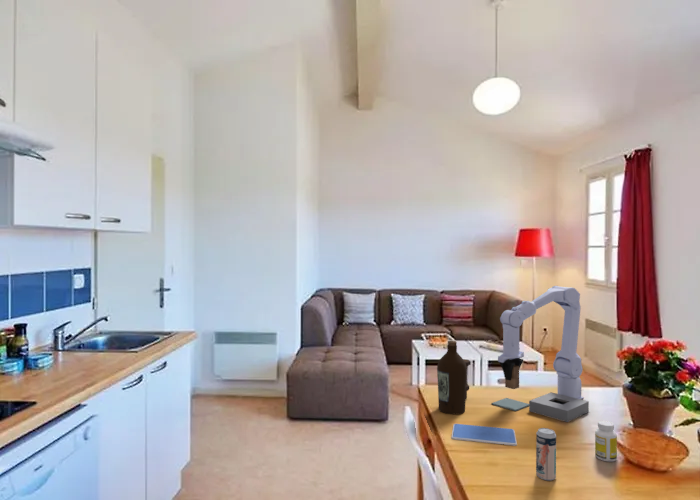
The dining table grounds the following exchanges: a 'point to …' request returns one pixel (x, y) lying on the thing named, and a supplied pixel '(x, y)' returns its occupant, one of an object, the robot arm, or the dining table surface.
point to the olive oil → (452, 381)
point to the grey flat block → (559, 406)
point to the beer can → (546, 454)
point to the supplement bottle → (606, 442)
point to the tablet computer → (484, 434)
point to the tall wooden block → (513, 379)
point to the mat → (510, 404)
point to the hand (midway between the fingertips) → (511, 378)
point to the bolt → (466, 379)
